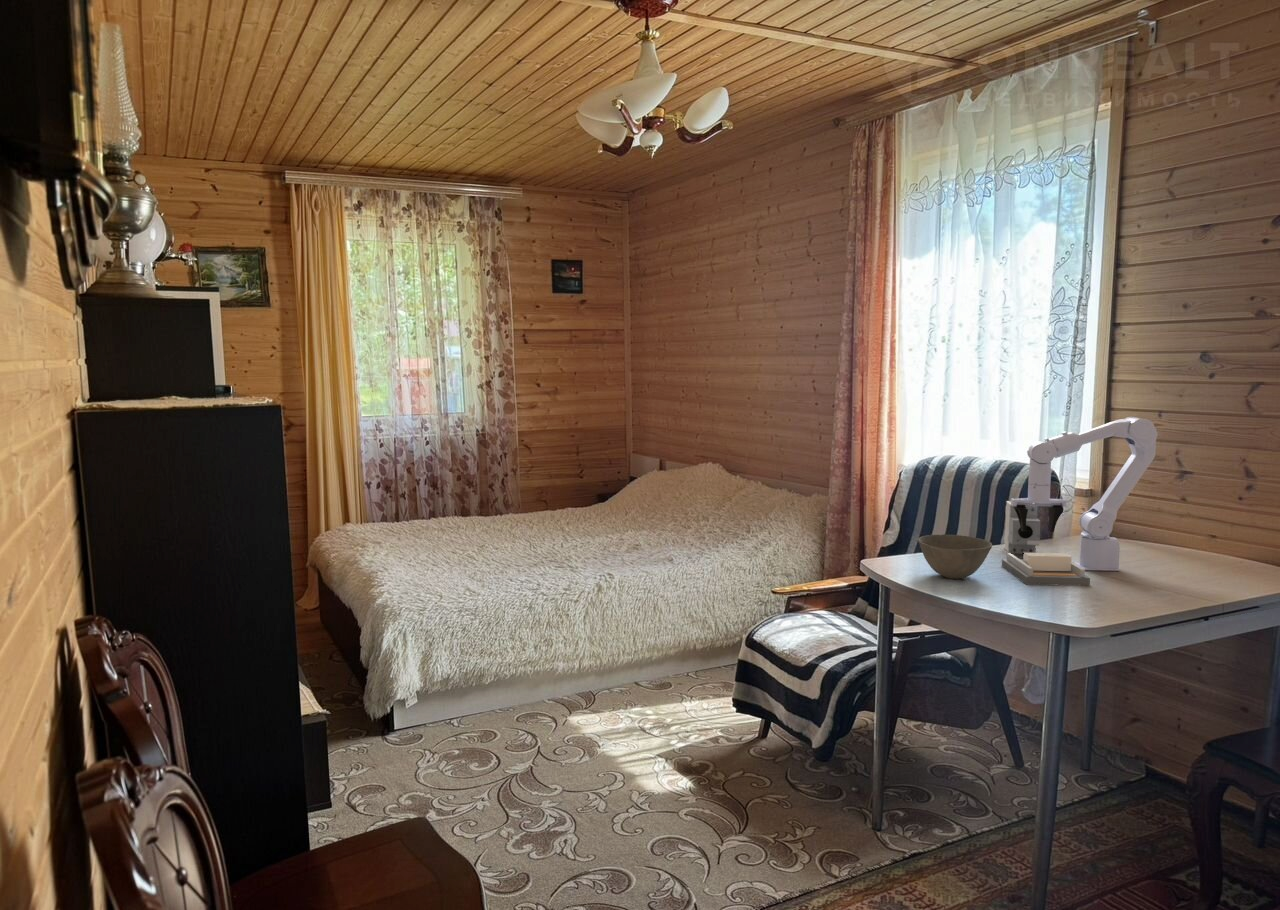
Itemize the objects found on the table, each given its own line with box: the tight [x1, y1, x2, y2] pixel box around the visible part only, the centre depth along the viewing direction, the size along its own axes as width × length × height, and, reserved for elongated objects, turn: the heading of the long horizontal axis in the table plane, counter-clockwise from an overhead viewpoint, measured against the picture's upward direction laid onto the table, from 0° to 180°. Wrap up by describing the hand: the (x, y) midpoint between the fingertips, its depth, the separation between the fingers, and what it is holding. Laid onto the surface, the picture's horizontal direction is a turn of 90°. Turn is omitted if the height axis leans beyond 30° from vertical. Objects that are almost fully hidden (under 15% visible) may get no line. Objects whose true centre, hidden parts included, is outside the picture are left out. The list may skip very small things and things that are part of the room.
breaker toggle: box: [1022, 552, 1073, 571], centre depth 227 cm, size 11×4×4 cm, turn 84°
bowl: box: [917, 533, 993, 580], centre depth 228 cm, size 19×19×10 cm
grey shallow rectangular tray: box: [1001, 552, 1091, 586], centre depth 229 cm, size 16×20×4 cm
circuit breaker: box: [1003, 500, 1041, 555], centre depth 255 cm, size 8×14×15 cm, turn 166°
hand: (1037, 531), depth 240 cm, fingers open, 7 cm apart
